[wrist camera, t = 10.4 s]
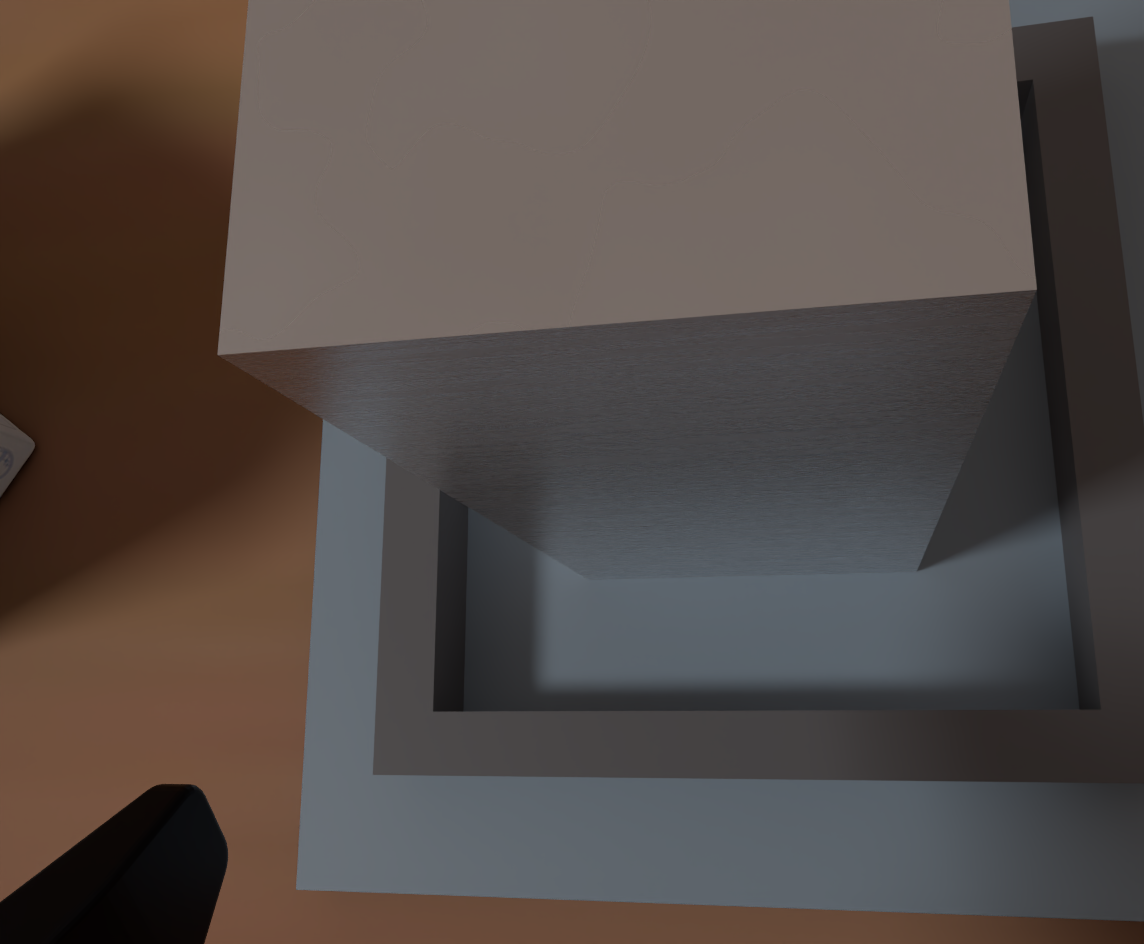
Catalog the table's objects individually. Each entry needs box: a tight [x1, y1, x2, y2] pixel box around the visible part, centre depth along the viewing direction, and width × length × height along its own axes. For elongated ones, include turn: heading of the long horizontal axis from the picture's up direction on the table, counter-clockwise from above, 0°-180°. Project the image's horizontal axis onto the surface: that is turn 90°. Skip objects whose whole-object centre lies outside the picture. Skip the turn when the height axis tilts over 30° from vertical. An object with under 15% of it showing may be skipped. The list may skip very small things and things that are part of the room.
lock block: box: [218, 0, 1037, 580], centre depth 14 cm, size 6×6×12 cm
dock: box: [296, 0, 1144, 921], centre depth 19 cm, size 16×16×3 cm
